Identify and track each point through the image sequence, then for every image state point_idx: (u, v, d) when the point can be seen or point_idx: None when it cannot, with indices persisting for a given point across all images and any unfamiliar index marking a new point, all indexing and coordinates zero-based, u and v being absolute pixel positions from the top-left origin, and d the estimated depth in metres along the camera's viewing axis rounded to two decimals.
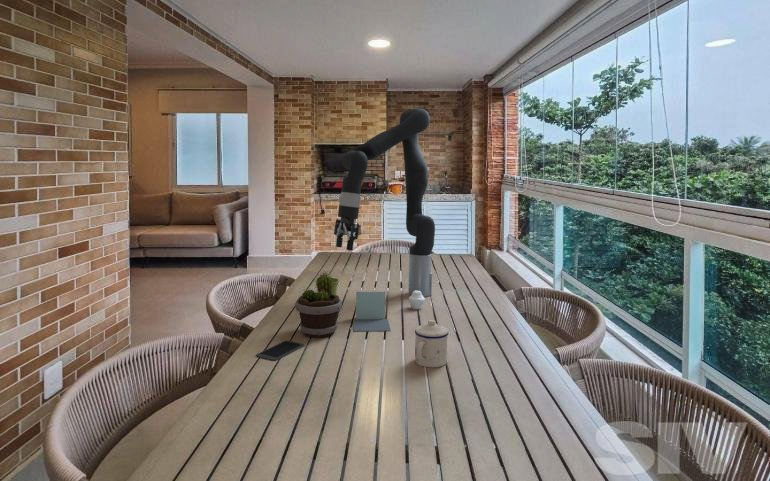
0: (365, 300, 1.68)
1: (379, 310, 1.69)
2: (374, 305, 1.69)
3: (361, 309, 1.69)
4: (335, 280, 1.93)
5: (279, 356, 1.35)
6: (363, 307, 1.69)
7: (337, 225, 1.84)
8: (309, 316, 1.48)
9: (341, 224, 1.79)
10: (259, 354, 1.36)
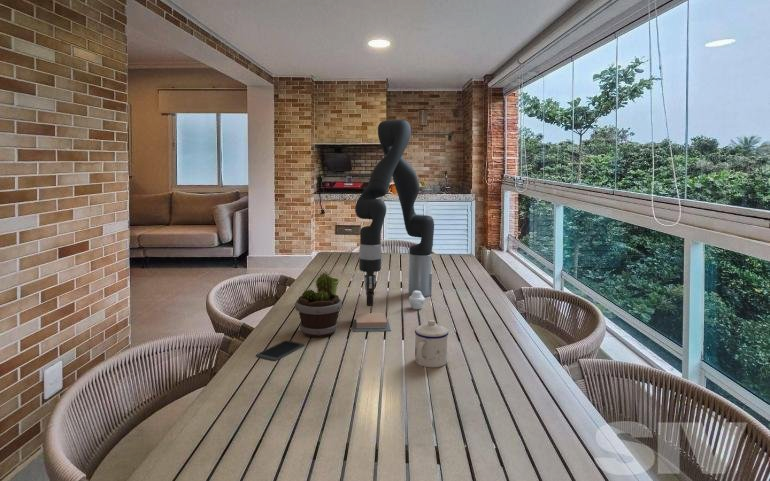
0: None
1: None
2: None
3: None
4: (335, 280, 1.93)
5: (279, 356, 1.35)
6: None
7: None
8: (309, 316, 1.48)
9: (364, 276, 1.69)
10: (259, 354, 1.36)
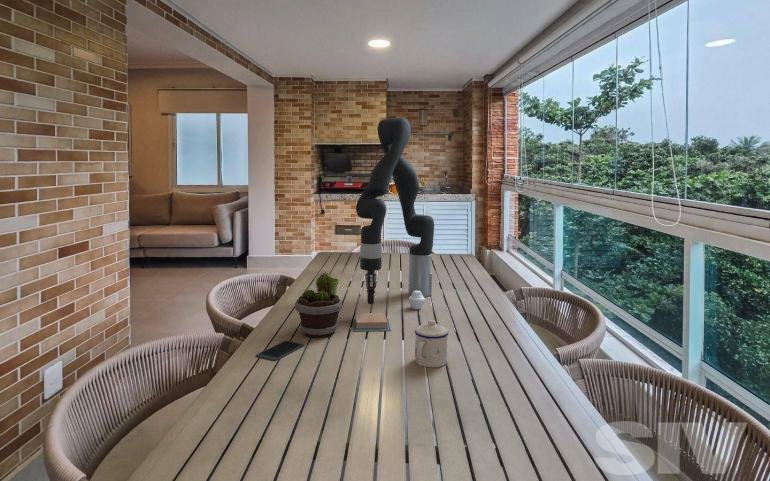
0: None
1: None
2: None
3: None
4: (335, 280, 1.93)
5: (279, 356, 1.35)
6: None
7: None
8: (309, 316, 1.48)
9: (365, 274, 1.72)
10: (259, 354, 1.36)
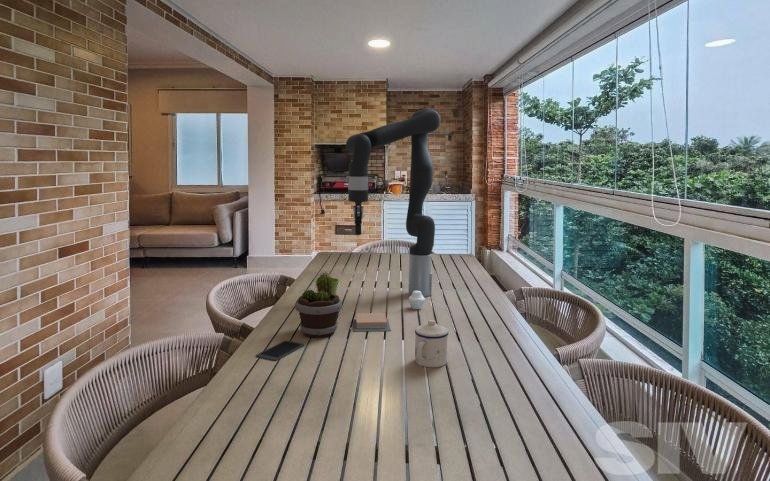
0: None
1: None
2: None
3: None
4: (335, 280, 1.93)
5: (279, 356, 1.35)
6: None
7: None
8: (309, 316, 1.48)
9: (353, 206, 1.85)
10: (259, 354, 1.36)
